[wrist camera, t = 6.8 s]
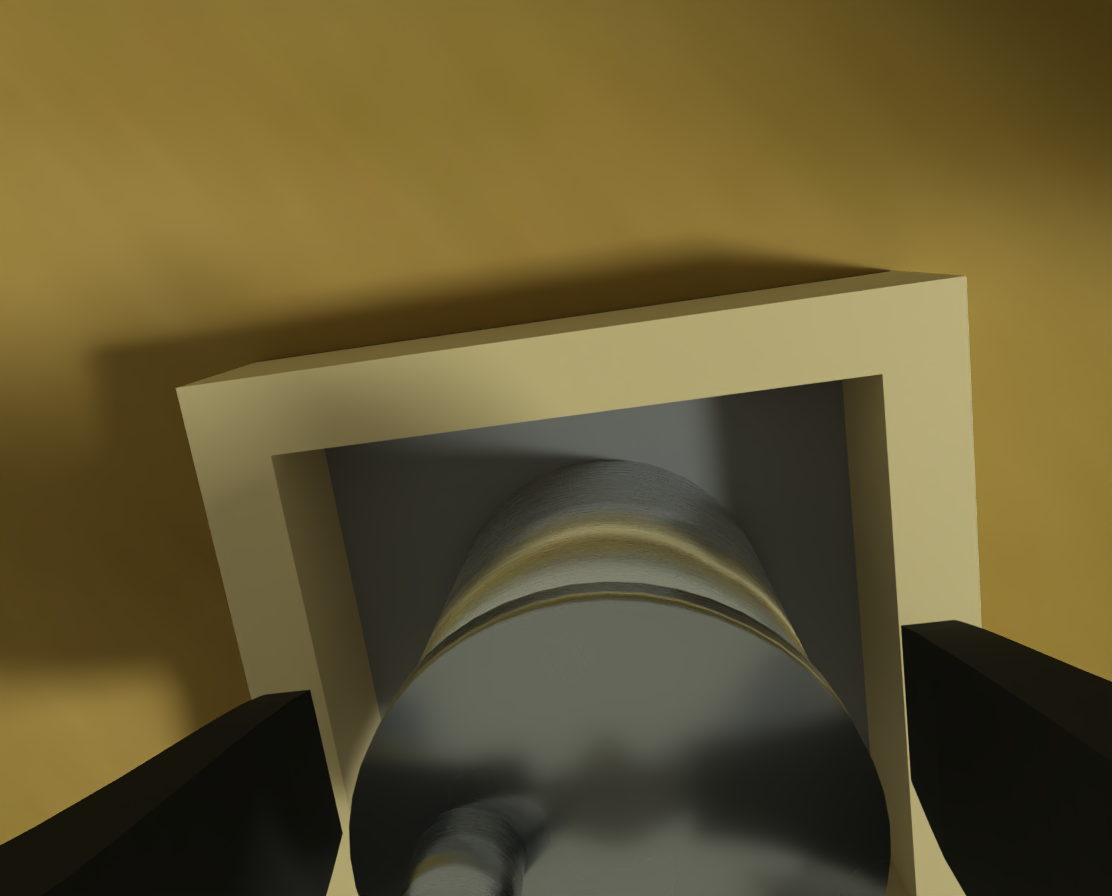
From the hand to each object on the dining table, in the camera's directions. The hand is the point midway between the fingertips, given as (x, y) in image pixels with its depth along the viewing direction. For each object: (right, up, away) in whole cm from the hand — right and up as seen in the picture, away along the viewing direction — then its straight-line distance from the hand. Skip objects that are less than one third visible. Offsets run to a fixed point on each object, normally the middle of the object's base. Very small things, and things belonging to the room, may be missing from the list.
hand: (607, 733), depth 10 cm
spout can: (0, +1, +3) cm, 3 cm away
